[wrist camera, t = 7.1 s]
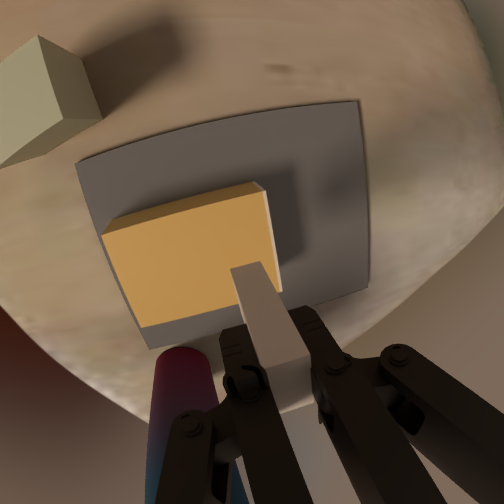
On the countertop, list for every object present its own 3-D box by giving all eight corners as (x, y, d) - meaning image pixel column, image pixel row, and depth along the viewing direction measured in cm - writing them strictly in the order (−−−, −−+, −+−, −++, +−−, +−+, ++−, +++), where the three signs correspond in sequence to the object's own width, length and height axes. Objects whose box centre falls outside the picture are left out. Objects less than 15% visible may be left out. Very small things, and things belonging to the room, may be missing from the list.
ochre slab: (254, 181, 20) (111, 219, 19) (265, 190, 17) (101, 235, 16) (271, 270, 23) (144, 304, 22) (282, 291, 20) (141, 328, 19)
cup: (222, 384, 28) (254, 522, 14) (156, 391, 27) (162, 530, 13) (214, 334, 25) (250, 500, 12) (137, 343, 24) (128, 507, 10)
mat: (77, 162, 17) (74, 163, 16) (352, 101, 19) (357, 101, 19) (149, 344, 24) (149, 349, 24) (364, 284, 26) (367, 287, 26)
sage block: (24, 96, 14) (-33, 93, 8) (81, 58, 14) (37, 34, 8) (45, 154, 16) (-9, 172, 10) (103, 119, 16) (63, 118, 10)
